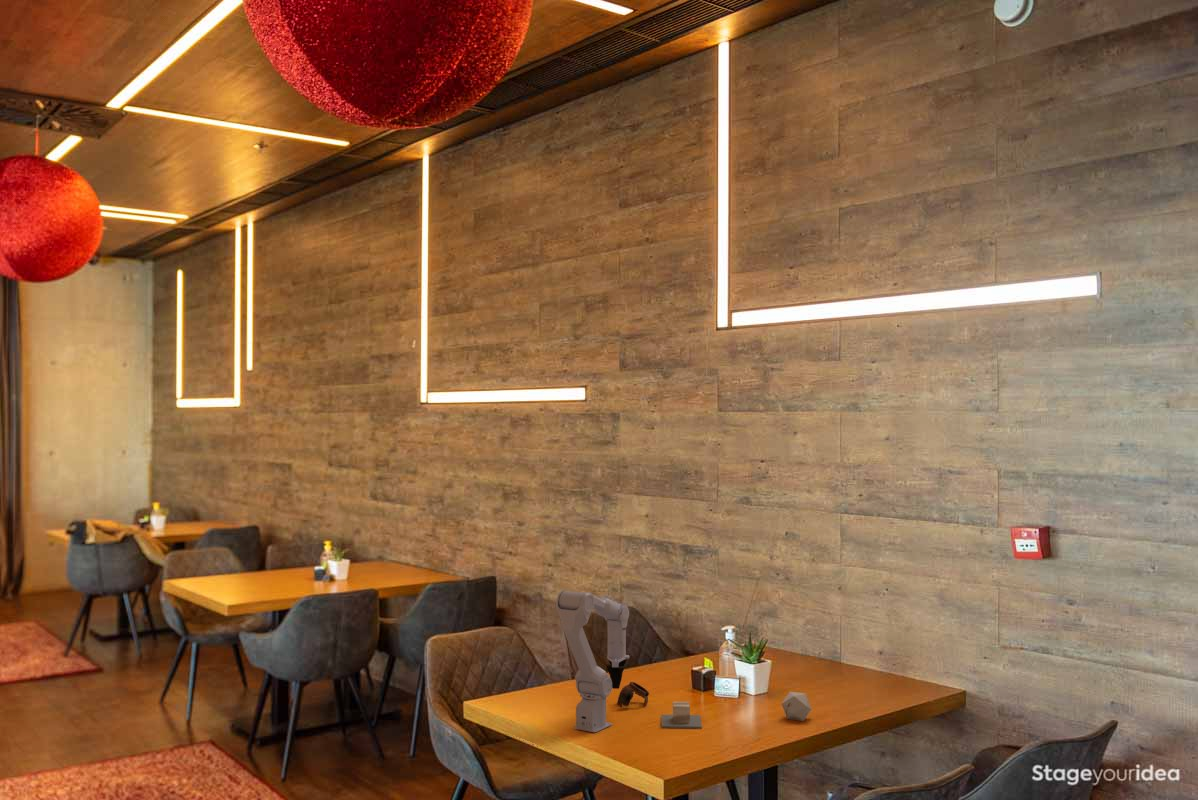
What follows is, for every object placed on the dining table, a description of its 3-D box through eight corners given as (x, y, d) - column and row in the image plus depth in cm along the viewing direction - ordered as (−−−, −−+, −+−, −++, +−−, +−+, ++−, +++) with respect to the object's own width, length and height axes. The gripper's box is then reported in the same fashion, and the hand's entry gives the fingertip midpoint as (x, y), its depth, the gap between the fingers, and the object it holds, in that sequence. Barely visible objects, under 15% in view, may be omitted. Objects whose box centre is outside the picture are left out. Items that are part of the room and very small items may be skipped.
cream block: (689, 723, 300) (689, 706, 301) (673, 722, 301) (673, 706, 301) (689, 718, 305) (689, 701, 306) (672, 718, 306) (672, 701, 306)
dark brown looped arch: (620, 701, 329) (632, 679, 329) (643, 717, 324) (656, 695, 325) (607, 701, 318) (620, 678, 319) (631, 717, 314) (644, 694, 314)
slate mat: (701, 728, 297) (701, 726, 297) (661, 728, 297) (661, 726, 297) (700, 717, 309) (700, 715, 309) (661, 716, 309) (661, 714, 309)
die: (780, 716, 311) (774, 696, 306) (800, 700, 314) (795, 680, 309) (797, 732, 305) (792, 712, 300) (818, 715, 307) (813, 695, 302)
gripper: (628, 646, 304) (628, 691, 303) (630, 637, 318) (630, 679, 318) (605, 646, 304) (605, 691, 304) (608, 636, 319) (608, 679, 318)
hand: (616, 685), depth 311 cm, fingers open, 7 cm apart
